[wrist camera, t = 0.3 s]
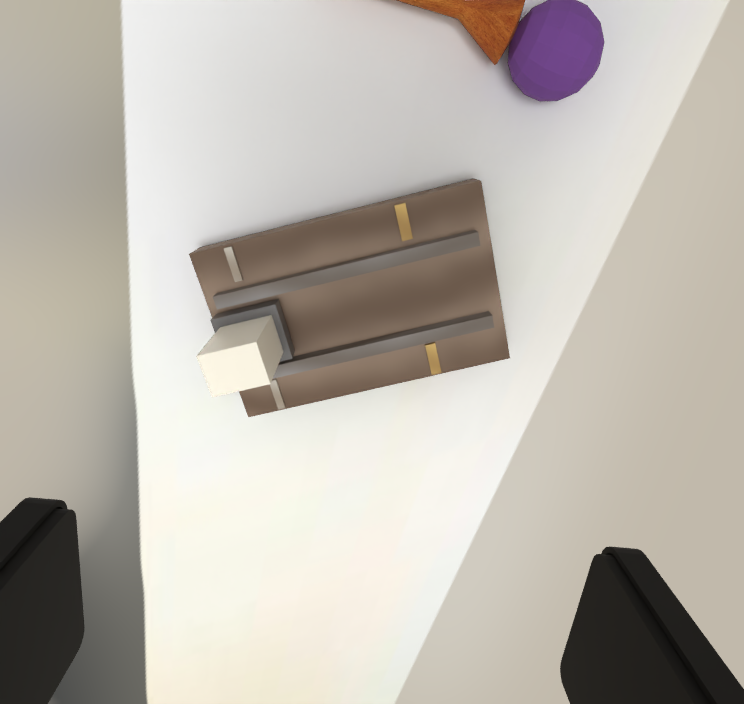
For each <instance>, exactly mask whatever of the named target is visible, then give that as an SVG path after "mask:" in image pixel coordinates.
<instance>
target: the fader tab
mask: <svg viewBox="0 0 744 704" xmlns="http://www.w3.org/2000/svg"><path fill="white" fill-rule="evenodd" d="M211 323H212V325H213V328H214V331H215V334H214V335H213V337H212V338H211V339H210V340H209V341H208V343H207V344H206V345H205V346H204V347H203V349H202V350H201V351H200V352H199V354H198V355H197V356H196V357H197V359H198V362H199V365H200V367H201V370H202V372H203V375H204V377H205V380H206V383H207V385H208V388H209V390H210V393H211V396H212V397H217V396H221V395H225V394H230V393H234V392H238V391H243V390H247V389H251V388H256V387H260V386H264V385H269V384H271V381H272V379H273V376H274V374H275V371H276V369H277V367H278V364H279V362H280V361H284V360H289V359H293V356H294V353H295V350H294V346H293V343H292V340H291V337H290V334H289V330H288V327H287V324H286V321H285V318H284V315H283V311H282V308H281V305H280V302H279V299H276V300H271V301H267V302H263V303H259V304H255V305H251V306H247V307H242V308H238V309H234V310H230V311H226V312H222V313H218V314H216V315H215V316H214V317H213V318H212V319H211Z"/></svg>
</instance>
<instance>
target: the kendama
mask: <svg viewBox="0 0 744 704" xmlns="http://www.w3.org/2000/svg"><path fill="white" fill-rule="evenodd" d="M397 1H400V2H404V3H407V4H410V5H414V6H417V7H420V8H424V9H427V10H430V11H434V12H437V13H440V14H443V15H447V16H450V17H453V18H457V19H459V21H460V22H461V23H462V24H463V26H464V27H465V28H466V30H467V31H468V32H469V33H470V35H471V36H472V37H473V38H474V40H475V41H476V42H477V43H478V45H479V46H480V47H481V48H482V50H483V51H484V52H485V54H486V55H487V56H488V57H489V59H490V60H491V61H492V62H493V64H494V65H496V64H497V62H498V61H499V59H500V58H501V56H502V54H503V53H504V51H505V50H506V48H507V46H508V45H509V54H508V66H509V69H510V72H511V76H512V79H513V82H514V83H515V84H516V85H517V86H518V88H519V89H520V90H521V91H522V92H523V93H524V94H525V95H527V96H529V97H531V98H534V99H536V100H538V101H558V100H560V99H563V98H565V97H567V96H570V95H572V94H574V93H577V92H578V91H579V90H580V89H581V88H582V87H583V86H584V85H585V84H586V83H587V82H588V81H589V80H590V79H591V78H592V77H593V75H594V74H595V72H596V71H597V69H598V67H599V64H600V60H601V55H602V51H603V46H604V38H603V33H602V28H601V23H600V21H599V20H598V19H597V17H596V16H595V15H594V13H593V12H592V11H591V10H590V8H589V7H588V6H587V5H585V4H583V3H581V2H579V1H577V0H547V1H545V2H543V3H541V4H539V5H537V6H535V7H533V8H532V9H531V10H530V11H529V12H528V13H527V15H526V16H525V17H524V18H523V19H522V20H521V21H520V22H519V20H520V16H521V13H522V10H523V6H524V3H525V0H466V1H465V0H397Z"/></svg>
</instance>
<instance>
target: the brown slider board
mask: <svg viewBox="0 0 744 704" xmlns="http://www.w3.org/2000/svg"><path fill="white" fill-rule="evenodd" d="M189 255H190V258H191V261H192V263H193V266H194V269H195V272H196V274H197V277H198V280H199V283H200V285H201V288H202V291H203V294H204V296H205V299H206V302H207V305H208V307H209V310H210V313H211V316H212V318H213V317H214V316H215V315H216V314H218V313H222V312H226V311H230V310H234V309H238V308H242V307H247V306H251V305H255V304H259V303H263V302H267V301H271V300H276V299H279V302H280V305H281V308H282V311H283V315H284V318H285V321H286V324H287V327H288V330H289V334H290V337H291V340H292V343H293V346H294V350H295V353H294V356H293V359H289V360H284V361H280V362H279V364H278V367H277V369H276V371H275V374H274V376H273V379H272V381H271V384H269V385H264V386H260V387H256V388H251V389H247V390H243V391H239V392H240V395H241V398H242V401H243V403H244V406H245V409H246V412H247V414H248V417H251V416H256V415H260V414H265V413H269V412H274V411H278V410H282V409H287V408H291V407H296V406H300V405H304V404H309V403H313V402H318V401H322V400H327V399H331V398H335V397H340V396H344V395H349V394H353V393H358V392H362V391H366V390H371V389H375V388H380V387H384V386H389V385H393V384H397V383H402V382H406V381H411V380H415V379H419V378H424V377H428V376H433V375H437V374H442V373H446V372H450V371H455V370H459V369H464V368H468V367H473V366H477V365H481V364H486V363H490V362H495V361H499V360H504V359H508V358H510V356H509V350H508V344H507V338H506V331H505V325H504V319H503V313H502V307H501V301H500V295H499V288H498V282H497V276H496V270H495V264H494V258H493V251H492V245H491V239H490V233H489V227H488V221H487V214H486V208H485V202H484V196H483V190H482V184H481V181H480V180H477V179H469V180H465V181H461V182H458V183H454V184H450V185H446V186H442V187H438V188H434V189H430V190H426V191H422V192H418V193H414V194H410V195H406V196H402V197H398V198H394V199H390V200H386V201H382V202H378V203H374V204H370V205H366V206H362V207H358V208H354V209H350V210H346V211H342V212H338V213H334V214H330V215H326V216H322V217H319V218H315V219H311V220H307V221H303V222H299V223H295V224H291V225H287V226H283V227H279V228H275V229H271V230H267V231H263V232H259V233H255V234H251V235H247V236H243V237H239V238H235V239H231V240H227V241H223V242H219V243H215V244H211V245H207V246H203V247H200V248H198V249H197V250H195V251H193V252H192V253H190V254H189Z"/></svg>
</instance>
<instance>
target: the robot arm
mask: <svg viewBox="0 0 744 704" xmlns="http://www.w3.org/2000/svg"><path fill="white" fill-rule="evenodd" d="M76 523H77V522H76V514H75V512H74V511H73V510H68V509H67V505H66V503H65V502H64V501H62V500H54V499H42V498H25V499H24V500H23V501H22V502H20V503H19V504H18V505H17V506H16V507H15V509H13V510H12V511H11V512H10V513H9V514H8V515H7V516H6V517H5V518H4V519H3V520H2V521H1V522H0V704H48V702H49V700H50V699H51V697H52V695H53V694H54V692H55V690H56V688H57V687H58V685H59V683H60V682H61V680H62V678H63V676H64V675H65V673H66V671H67V669H68V668H69V666H70V664H71V663H72V661H73V659H74V657H75V656H76V654H77V652H78V650H79V648H80V645H81V643H82V639H83V635H84V617H83V603H82V590H81V576H80V562H79V549H78V535H77V524H76ZM560 667H561V668H560V672H561V679H562V683H563V686H564V689H565V691H566V694H567V697H568V699H569V702H570V704H744V689H743V688H742V686H741V685H740V684H739V682H738V681H737V679H736V678H735V677H734V675H733V674H732V673H731V671H730V670H729V669H728V667H727V666H726V664H725V663H724V662H723V660H722V659H721V658H720V656H719V655H718V654H717V652H716V651H715V649H714V648H713V647H712V645H711V644H710V643H709V641H708V640H707V638H706V637H705V636H704V634H703V633H702V632H701V630H700V629H699V628H698V626H697V625H696V624H695V622H694V621H693V620H692V618H691V617H690V615H689V614H688V613H687V611H686V610H685V608H684V607H683V606H682V604H681V603H680V602H679V600H678V599H677V598H676V596H675V595H674V594H673V592H672V591H671V589H670V588H669V587H668V585H667V584H666V583H665V581H664V580H663V578H662V577H661V576H660V574H659V573H658V572H657V570H656V569H655V567H654V566H653V565H652V563H651V562H650V561H649V559H648V558H647V557H646V555H645V554H644V553H643V552H642V551H641V550H638V549H631V548H619V547H606V548H605V549H604V550H603V551H602V554H596V555H595V556H594V558H593V560H592V563H591V566H590V569H589V573H588V576H587V579H586V582H585V586H584V589H583V592H582V595H581V599H580V602H579V605H578V608H577V612H576V615H575V618H574V621H573V624H572V628H571V631H570V634H569V638H568V641H567V644H566V648H565V650H564V654H563V657H562V660H561V666H560Z"/></svg>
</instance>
